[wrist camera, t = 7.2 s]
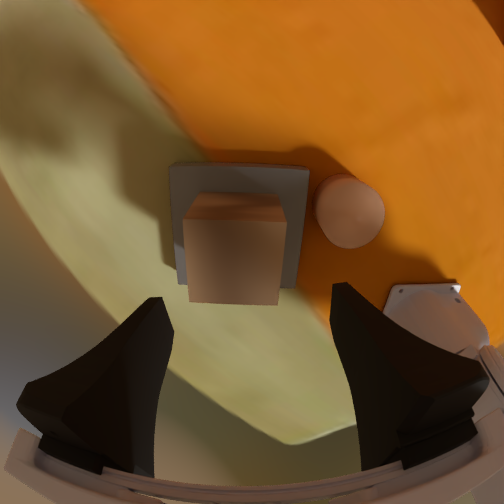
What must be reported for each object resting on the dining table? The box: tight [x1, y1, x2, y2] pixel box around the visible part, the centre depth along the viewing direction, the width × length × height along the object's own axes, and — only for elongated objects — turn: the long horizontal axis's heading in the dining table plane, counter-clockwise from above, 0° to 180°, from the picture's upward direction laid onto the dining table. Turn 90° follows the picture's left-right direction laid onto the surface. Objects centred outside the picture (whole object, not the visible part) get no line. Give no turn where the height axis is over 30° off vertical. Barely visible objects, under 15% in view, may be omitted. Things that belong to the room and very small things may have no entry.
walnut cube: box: [183, 192, 287, 305], centre depth 16 cm, size 5×5×5 cm
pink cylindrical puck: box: [312, 174, 385, 249], centre depth 18 cm, size 4×4×3 cm
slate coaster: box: [169, 162, 310, 288], centre depth 19 cm, size 9×9×2 cm
